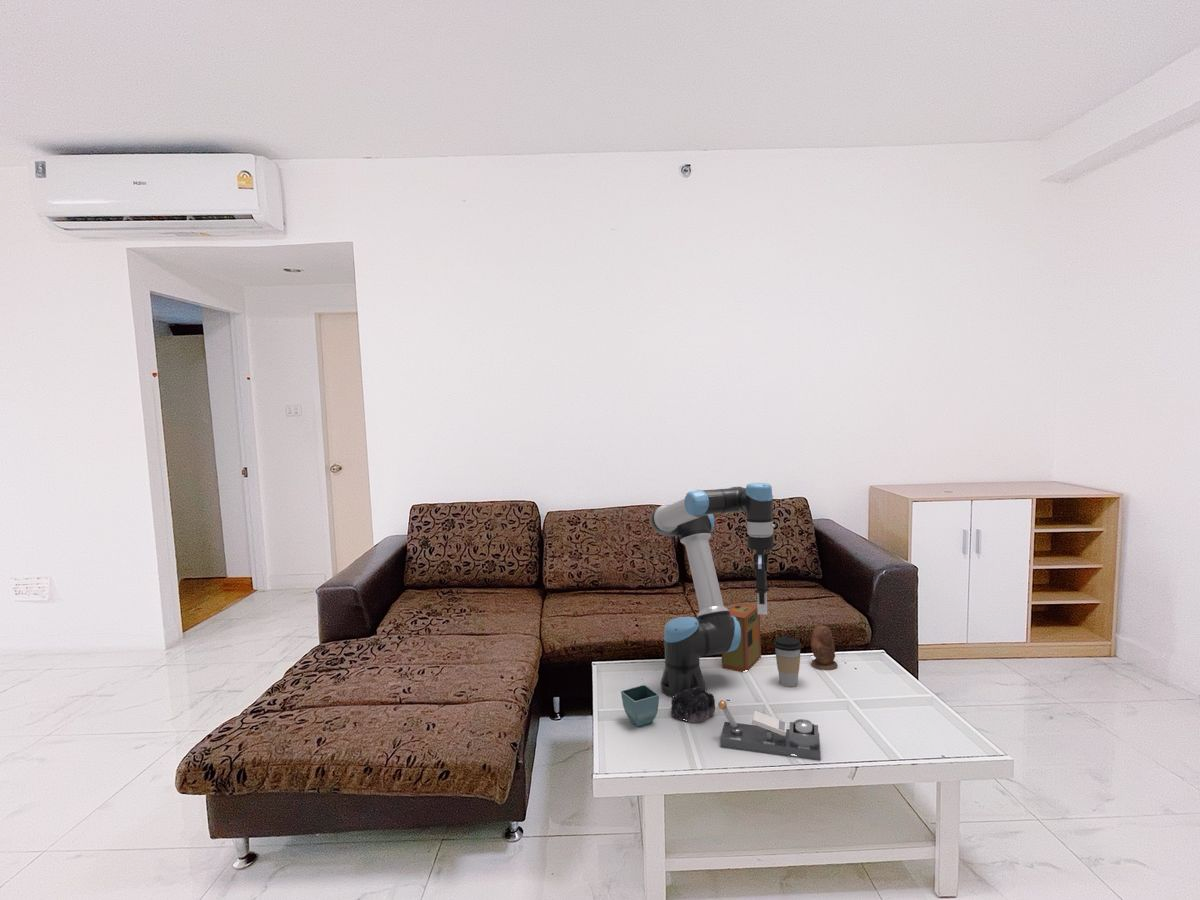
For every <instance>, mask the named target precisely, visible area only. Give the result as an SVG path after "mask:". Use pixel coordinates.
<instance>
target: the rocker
mask: <svg viewBox="0 0 1200 900" xmlns="http://www.w3.org/2000/svg"><path fill="white" fill-rule="evenodd" d="M787 724H788V723H787V722H785V721H783V720H781V719H779V718H775V717H773V716H770V715H768V714H765V713H762V712H759V711H757V710H754V712H753V716H752V722H751V725H757V726H759V727H762V728H765V729H767V730H770V731H772V732H775V733H777V734H780V735H783V736H785V735H786V729H788V727H787Z"/></svg>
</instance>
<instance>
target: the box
mask: <svg viewBox="0 0 1200 900" xmlns="http://www.w3.org/2000/svg"><path fill="white" fill-rule="evenodd" d="M727 609H728V610H729V611H730V616H734V617H736V618H737V621H738V622H739V624H740V628H741V641H740V644H739V646H738V648H737V649H736V650H734V651H731V652H727V653H721V667H722V669H723V670H728V671H729V670H730V671H734V672H739V673H743V671H745V670H748V671H749V670H751V669H752V667H754V666H755V664H757V663H758V661H759V660H760V659H761V658H762V646H761V614H758V608H757V604H756V605H755V604H751V603H750V604H748V603H741V602H736V603H735V604H733V605H732V606H730V607H729V608H727ZM760 657H761V658H760ZM759 658H760V659H759Z"/></svg>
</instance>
